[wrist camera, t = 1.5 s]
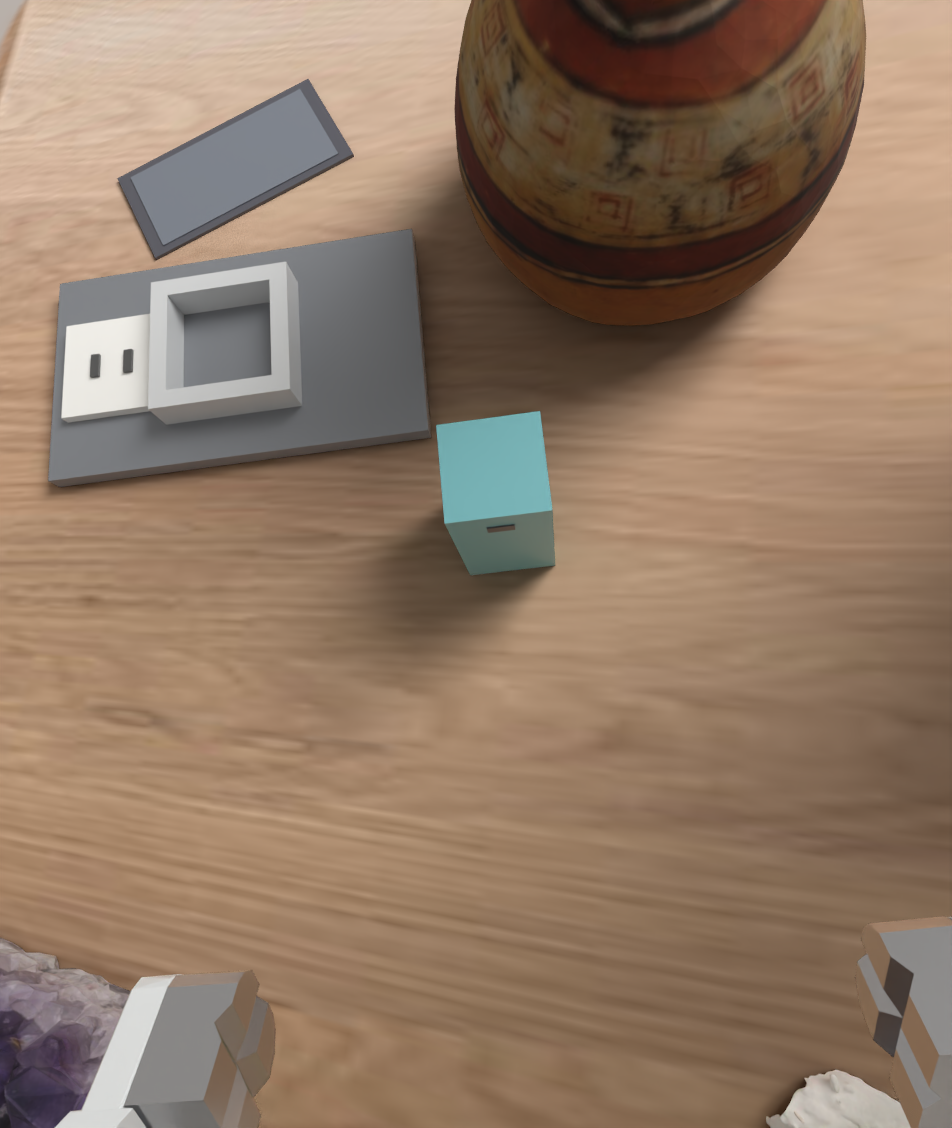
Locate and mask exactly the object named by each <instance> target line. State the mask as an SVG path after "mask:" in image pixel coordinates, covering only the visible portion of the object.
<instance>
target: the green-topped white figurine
mask: <svg viewBox="0 0 952 1128" xmlns="http://www.w3.org/2000/svg"><path fill="white" fill-rule="evenodd" d="M805 1080H806V1082H807V1084H806V1087H804V1088H802V1089H798V1090H797V1091H796V1092H795V1093H794V1095H793V1097H792V1099H791V1102H790V1104H789V1105H788V1107H787V1109H786V1110H785V1112H784V1113H783V1114H782V1115H781V1116H780V1117H779V1115H780V1114H779V1115H778V1114H777V1115H774V1116H772V1117H771V1118H769V1117H768V1116H767V1117H766V1123H768V1124H769V1125H770V1128H911V1127H910V1125H909V1122H908V1120H907V1118H906V1115H905V1113H904V1111H903V1109H902V1106H901V1104H900V1102H898V1101H896V1100H894V1099H892V1098H890V1097H889V1096H888V1095H887V1094H885V1093H884V1092H881V1091H878V1090H876V1089H874V1088H873V1087H871V1086H869V1085H867V1084H866V1083H864V1082H863V1080H862V1079H860V1078H857V1077H854V1076H850V1075H849V1074H848V1073H846V1072H842V1071H839V1070H834V1071H830V1072H827V1073H826V1074H825V1075H823V1074H818V1075H816V1076H809V1078H805Z"/></svg>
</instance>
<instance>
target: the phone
mask: <svg viewBox="0 0 952 1128" xmlns="http://www.w3.org/2000/svg"><path fill="white" fill-rule="evenodd" d="M352 157H354V155H353V153H352V151H351V149H350V148H349V146H348V144H347V143H346V141H345V139H344V138H343V136H342V134H341V133H340V131H339V129H338V128H337V126H336V124H335V123H334V121H333V119H332V118H331V116H330V114H329V113H328V111H327V109H326V108H325V106H324V104H323V103H322V101H321V99H320V98H319V96H318V94H317V93H316V91H315V89H314V88H313V86H312V84H311V83H310V81H309V79H307V80H305V81H303V82H301V83H299V84H297V85H295V86H293V87H291V88H289V89H288V90H286V91H284V92H282V93H280V94H278V95H276V96H274V97H272V98H270V99H268V100H267V101H265V102H263V103H261V104H259V105H257V106H255V107H253V108H251V109H249V110H247V111H246V112H244V113H242V114H240V115H238V116H236V117H234V118H232V119H230V120H228V121H226V122H224V123H223V124H221V125H219V126H217V127H215V128H213V129H211V130H209V131H207V132H205V133H203V134H202V135H200V136H198V137H196V138H194V139H192V140H190V141H188V142H186V143H184V144H182V145H180V146H179V147H177V148H175V149H173V150H171V151H169V152H167V153H165V154H163V155H161V156H159V157H158V158H156V159H154V160H152V161H150V162H148V163H146V164H144V165H142V166H140V167H138V168H137V169H135V170H133V171H131V172H129V173H127V174H125V175H123V176H121V177H119V178H117V179H118V181H119V183H120V185H121V187H122V189H123V191H124V193H125V195H126V198H127V200H128V202H129V204H130V206H131V208H132V210H133V212H134V214H135V217H136V219H137V221H138V223H139V225H140V227H141V229H142V231H143V233H144V235H145V238H146V240H147V242H148V244H149V246H150V248H151V250H152V252H153V254H154V257H155V258H156V260H158V259H159V258H161V257H163V256H165V255H167V254H169V253H171V252H173V251H175V250H177V249H178V248H180V247H182V246H184V245H186V244H188V243H190V242H192V241H194V240H196V239H198V238H199V237H201V236H203V235H205V234H207V233H209V232H211V231H213V230H215V229H217V228H219V227H220V226H222V225H224V224H226V223H228V222H230V221H232V220H234V219H236V218H238V217H240V216H241V215H243V214H245V213H247V212H249V211H251V210H253V209H255V208H257V207H259V206H261V205H262V204H264V203H266V202H268V201H270V200H272V199H274V198H276V197H278V196H280V195H282V194H283V193H285V192H287V191H289V190H291V189H293V188H295V187H297V186H299V185H301V184H303V183H304V182H306V181H308V180H310V179H312V178H314V177H316V176H318V175H320V174H322V173H324V172H325V171H327V170H329V169H331V168H333V167H335V166H337V165H339V164H341V163H343V162H345V161H346V160H348V159H350V158H352Z"/></svg>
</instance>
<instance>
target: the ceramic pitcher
mask: <svg viewBox="0 0 952 1128" xmlns="http://www.w3.org/2000/svg"><path fill="white" fill-rule="evenodd" d="M865 50H866V27H865V16H864V9H863V1H862V0H471V4H470V7H469V10H468V13H467V17H466V21H465V26H464V31H463V37H462V42H461V48H460V54H459V61H458V68H457V76H456V92H455V126H456V140H457V152H458V160H459V167H460V173H461V177H462V181H463V185H464V189H465V192H466V196H467V200H468V202H469V204H470V207H471V209H472V212H473V214H474V217H475V219H476V222H477V224H478V226H479V228H480V230H481V232H482V233H483V235H484V237H485V239H486V241H487V243H488V244H489V245H490V247H491V248H492V249H493V251H494V252H495V253H496V254H497V256H498V257H499V258H500V260H501V261H502V262H503V264H504V265H505V266H506V267H507V268H508V269H509V270H510V271H511V272H512V273H513V274H514V275H515V276H516V277H517V278H518V279H519V280H520V281H521V282H522V283H523V284H524V285H526V286H527V287H528V288H529V289H531V290H532V291H533V292H535V293H536V294H537V295H538V296H540V297H541V298H542V299H544V300H545V301H546V302H548V303H549V304H551V305H553V306H555V307H557V308H559V309H561V310H563V311H565V312H567V313H569V314H571V315H574V316H577V317H579V318H582V319H585V320H587V321H590V322H594V323H601V324H607V325H630V326H632V325H646V324H656V323H661V322H666V321H671V320H676V319H680V318H685V317H690V316H694V315H697V314H700V313H703V312H706V311H709V310H711V309H712V308H714V307H716V306H718V305H720V304H722V303H724V302H726V301H728V300H730V299H732V298H734V297H736V296H738V295H740V294H741V293H742V292H744V291H745V290H747V289H748V288H750V287H751V286H752V285H754V284H755V283H757V282H758V281H759V280H761V279H762V278H763V277H764V276H765V275H767V274H768V273H769V272H770V271H771V270H772V269H773V268H775V267H776V266H777V265H778V264H779V263H780V262H781V261H782V260H783V259H784V258H785V257H786V256H787V254H788V253H789V252H790V251H791V249H792V248H793V247H794V245H795V244H796V243H797V242H798V240H799V239H800V238H801V237H802V235H803V234H804V233H805V231H806V230H807V228H808V227H809V225H810V224H811V222H812V221H813V219H814V218H815V216H816V215H817V213H818V212H819V210H820V208H821V206H822V205H823V203H824V201H825V199H826V197H827V196H828V194H829V192H830V190H831V188H832V187H833V185H834V183H835V181H836V179H837V177H838V175H839V173H840V171H841V169H842V167H843V165H844V162H845V159H846V156H847V153H848V150H849V146H850V143H851V140H852V137H853V133H854V130H855V126H856V121H857V116H858V112H859V107H860V102H861V97H862V92H863V87H864V71H865Z"/></svg>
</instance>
